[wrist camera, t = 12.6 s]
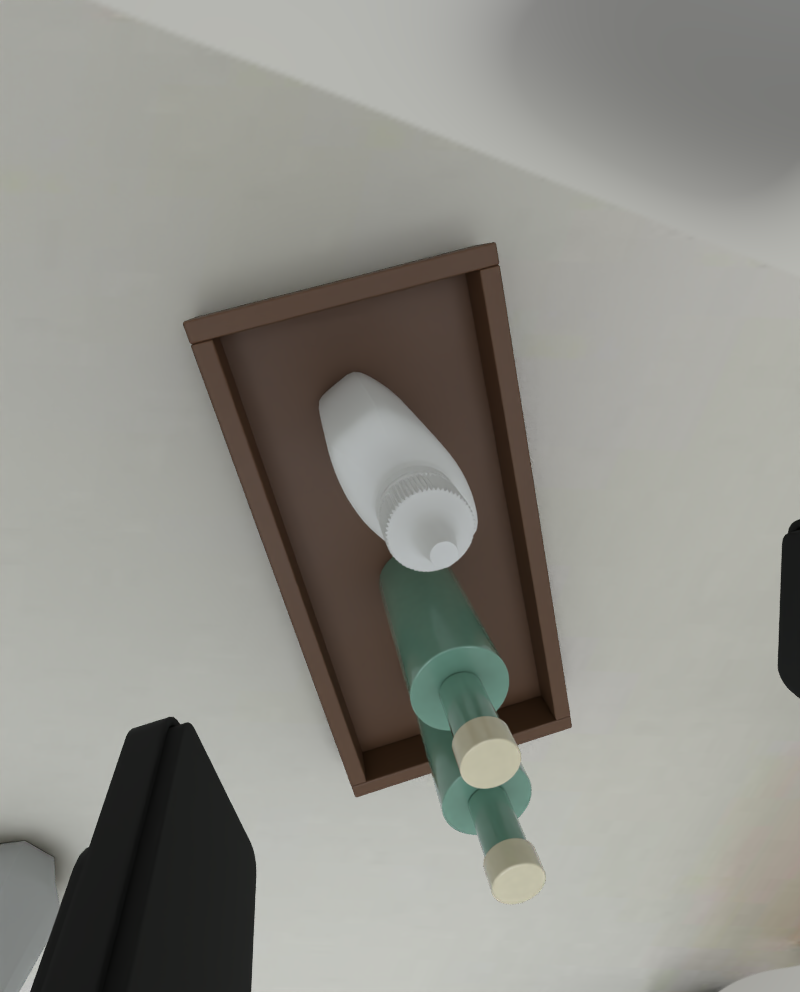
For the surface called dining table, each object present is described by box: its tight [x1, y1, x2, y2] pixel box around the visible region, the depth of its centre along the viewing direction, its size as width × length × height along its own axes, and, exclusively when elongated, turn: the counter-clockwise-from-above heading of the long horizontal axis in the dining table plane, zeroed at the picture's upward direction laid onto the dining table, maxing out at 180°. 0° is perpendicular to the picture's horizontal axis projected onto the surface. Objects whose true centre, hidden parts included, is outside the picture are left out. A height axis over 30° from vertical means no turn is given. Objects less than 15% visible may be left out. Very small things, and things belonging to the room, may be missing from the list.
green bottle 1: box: [379, 557, 521, 789], centre depth 23 cm, size 4×4×11 cm
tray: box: [183, 242, 572, 797], centre depth 26 cm, size 24×12×3 cm, turn 12°
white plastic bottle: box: [319, 372, 478, 572], centre depth 19 cm, size 4×6×12 cm
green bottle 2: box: [414, 711, 546, 904], centre depth 25 cm, size 4×4×11 cm
